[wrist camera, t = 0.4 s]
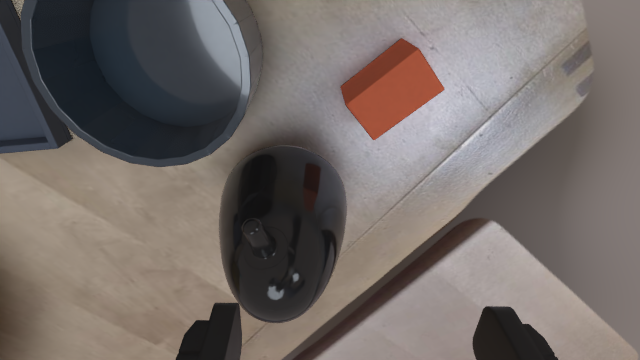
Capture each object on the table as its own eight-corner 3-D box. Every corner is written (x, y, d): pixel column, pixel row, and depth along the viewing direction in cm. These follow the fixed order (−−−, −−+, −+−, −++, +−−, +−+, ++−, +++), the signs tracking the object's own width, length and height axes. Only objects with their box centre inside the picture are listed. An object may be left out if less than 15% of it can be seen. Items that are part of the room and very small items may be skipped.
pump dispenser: (331, 116, 31) (348, 218, 18) (350, 215, 36) (375, 354, 23) (215, 139, 32) (148, 254, 18) (250, 233, 37) (217, 378, 23)
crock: (49, 36, 28) (-26, 52, 21) (166, -102, 24) (116, -130, 18) (184, 159, 33) (155, 200, 27) (298, 61, 29) (295, 83, 23)
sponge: (339, 86, 30) (345, 105, 26) (401, 37, 28) (418, 48, 24) (364, 118, 31) (373, 141, 27) (425, 73, 30) (445, 89, 25)
